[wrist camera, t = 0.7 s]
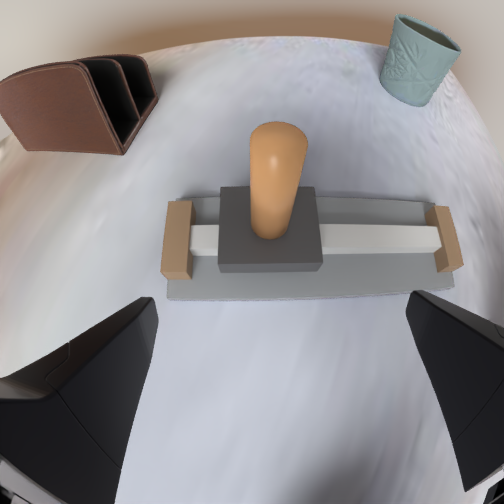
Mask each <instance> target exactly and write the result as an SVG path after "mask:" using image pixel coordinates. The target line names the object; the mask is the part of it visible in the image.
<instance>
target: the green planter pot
mask: <svg viewBox="0 0 504 504" xmlns="http://www.w3.org/2000/svg"><path fill="white" fill-rule="evenodd" d="M389 47H390V48H389V49H388V51H387V55H386V60H385V61H384V63H385V64H384V65H383V69H382V72H381V75H380V82H381V84H382V86H383V87H384V89H385V90H386V91H387V92H388V93H390V94H391V95H392V96H394V97H395V98H397V99H398V100H400V101H402V102H404V103H406V104H409V105H412V106H416V107H423V106H425V105H426V104H427V103H428V102H429V100H430V99H431V97H432V94H433V93H434V92H435V91H436V90H437V88H438V87H439V85H440V83H441V82H442V81H443V79H444V77H445V75H446V74H447V73H448V70H449V69H450V68H451V66H452V65H453V63H454V62H455V61H456V59H457V58H458V56H459V55H460V53H461V49H460V47H459V46H458V45H457V44H456V43H455V42H454V41H453V40H451V38H449V37H448V36H447V35H445V34H444V33H442V32H441V31H439V30H438V29H436V28H434V27H433V26H431V25H429V24H427V23H425V22H423V21H421V20H418V19H416V18H413V17H410V16H407V15H402V14H397V15H396V16H395V20H394V25H393V33H392V35H391V39H390V44H389Z"/></svg>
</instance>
